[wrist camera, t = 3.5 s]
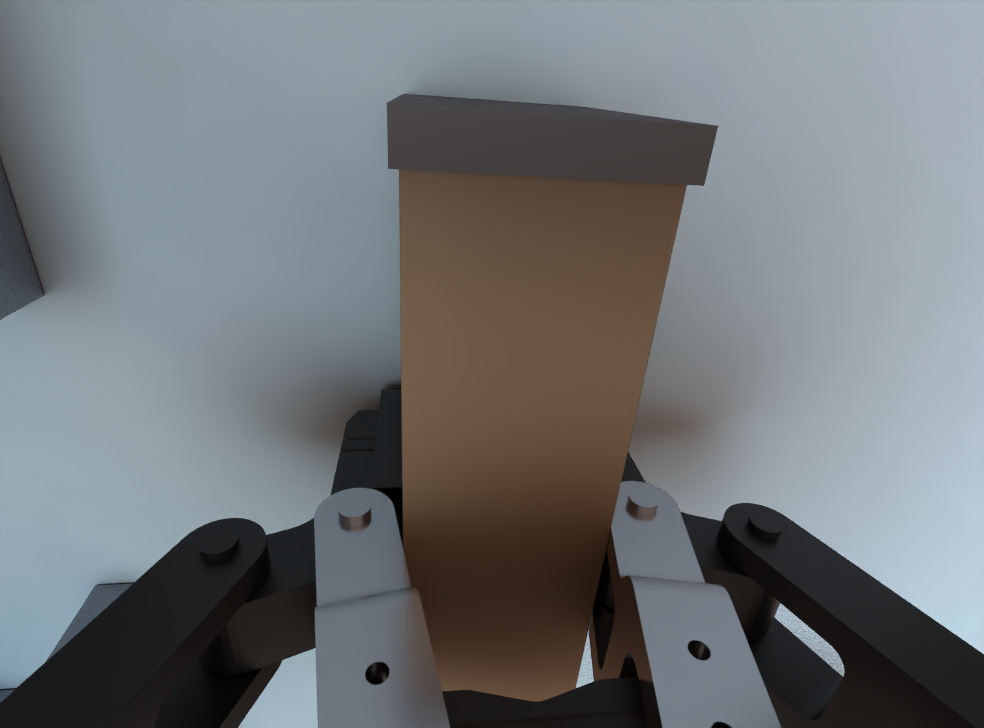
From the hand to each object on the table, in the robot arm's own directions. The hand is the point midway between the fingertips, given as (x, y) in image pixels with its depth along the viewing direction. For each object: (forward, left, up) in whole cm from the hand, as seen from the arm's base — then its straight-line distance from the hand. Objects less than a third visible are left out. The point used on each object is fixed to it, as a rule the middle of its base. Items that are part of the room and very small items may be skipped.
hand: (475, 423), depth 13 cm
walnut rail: (0, 0, 0) cm, 0 cm away
